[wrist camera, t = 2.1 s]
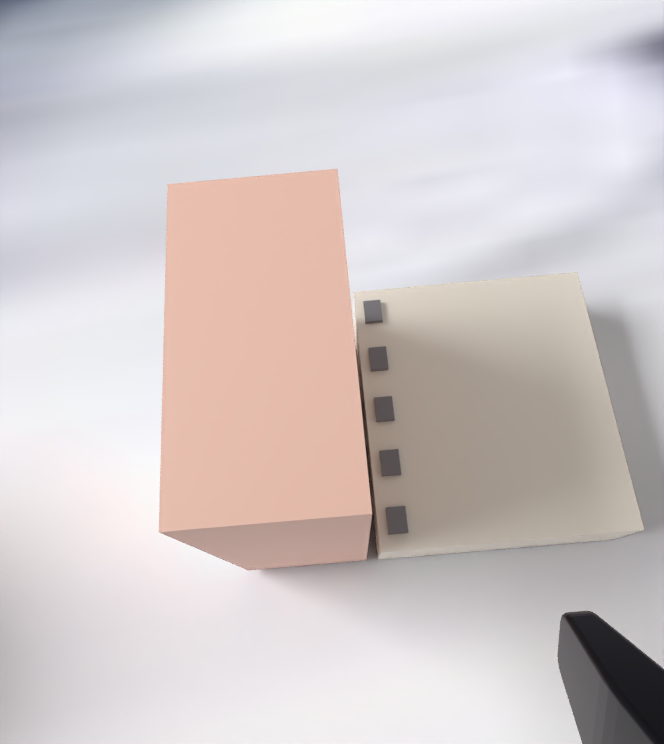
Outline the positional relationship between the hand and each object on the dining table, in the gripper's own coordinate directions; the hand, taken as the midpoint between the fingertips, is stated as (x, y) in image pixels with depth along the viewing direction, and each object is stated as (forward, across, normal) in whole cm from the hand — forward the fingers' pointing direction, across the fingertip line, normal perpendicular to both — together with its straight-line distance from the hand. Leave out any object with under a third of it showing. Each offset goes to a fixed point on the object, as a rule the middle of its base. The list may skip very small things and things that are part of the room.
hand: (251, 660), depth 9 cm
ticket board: (+13, -6, +4) cm, 15 cm away
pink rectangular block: (+13, 0, +4) cm, 14 cm away
